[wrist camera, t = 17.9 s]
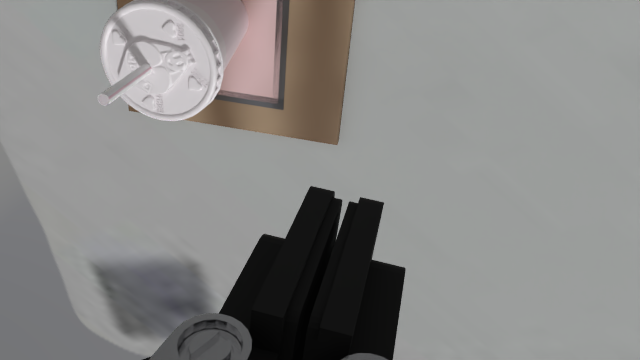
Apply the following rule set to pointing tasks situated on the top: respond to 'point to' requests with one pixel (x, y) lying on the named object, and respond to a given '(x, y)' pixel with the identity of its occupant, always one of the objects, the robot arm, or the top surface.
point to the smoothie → (170, 54)
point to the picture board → (286, 70)
